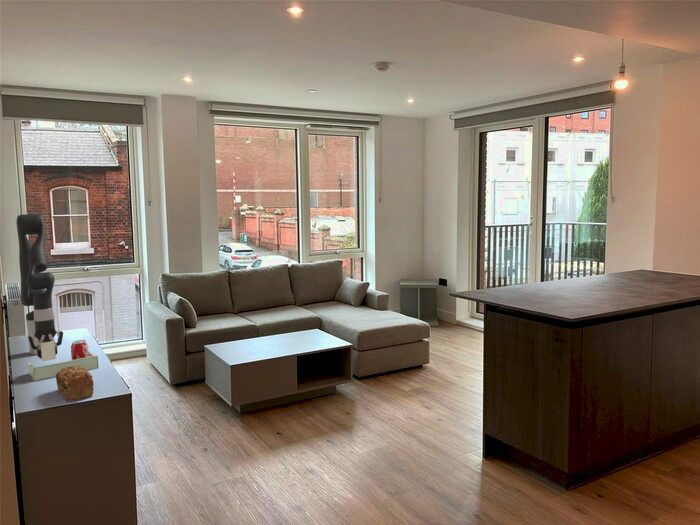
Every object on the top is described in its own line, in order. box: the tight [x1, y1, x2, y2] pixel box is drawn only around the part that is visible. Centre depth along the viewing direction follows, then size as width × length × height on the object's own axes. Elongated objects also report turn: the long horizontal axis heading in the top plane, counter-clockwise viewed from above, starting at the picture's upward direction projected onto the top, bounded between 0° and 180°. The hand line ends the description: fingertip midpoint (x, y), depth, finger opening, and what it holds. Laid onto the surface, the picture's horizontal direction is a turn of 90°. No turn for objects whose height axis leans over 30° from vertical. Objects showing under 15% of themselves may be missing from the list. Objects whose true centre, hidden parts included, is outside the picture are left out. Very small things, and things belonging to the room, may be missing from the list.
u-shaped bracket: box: [27, 350, 100, 382], centre depth 246 cm, size 13×26×6 cm, turn 129°
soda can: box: [70, 339, 89, 360], centre depth 250 cm, size 7×7×12 cm
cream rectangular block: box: [39, 340, 57, 362], centre depth 241 cm, size 6×5×8 cm
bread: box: [55, 366, 95, 402], centre depth 217 cm, size 19×11×10 cm, turn 36°
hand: (47, 356), depth 242 cm, fingers closed on cream rectangular block, 5 cm apart
